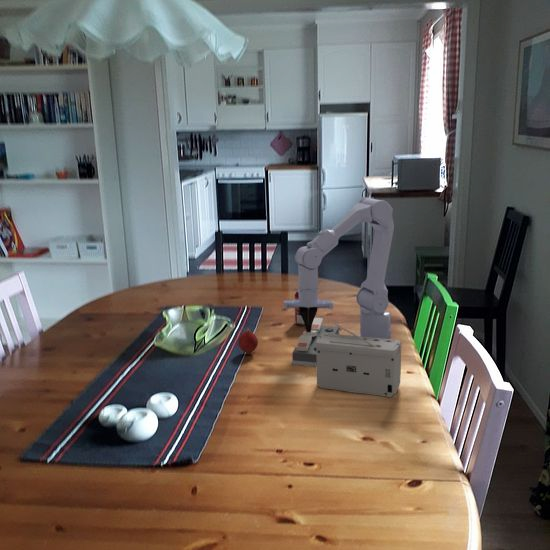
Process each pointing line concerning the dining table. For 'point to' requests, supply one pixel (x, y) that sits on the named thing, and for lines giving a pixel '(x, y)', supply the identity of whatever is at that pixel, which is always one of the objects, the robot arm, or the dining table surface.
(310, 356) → the power strip
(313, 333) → the rocker middle
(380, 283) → the robot arm
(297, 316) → the soda can
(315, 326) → the rocker
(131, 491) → the dining table surface
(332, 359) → the stereo radio cassette player
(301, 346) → the rocker
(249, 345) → the onion
